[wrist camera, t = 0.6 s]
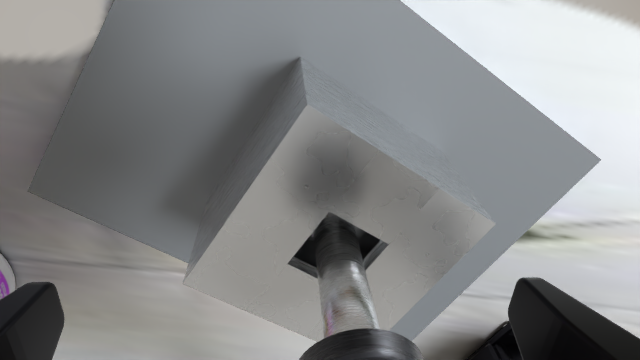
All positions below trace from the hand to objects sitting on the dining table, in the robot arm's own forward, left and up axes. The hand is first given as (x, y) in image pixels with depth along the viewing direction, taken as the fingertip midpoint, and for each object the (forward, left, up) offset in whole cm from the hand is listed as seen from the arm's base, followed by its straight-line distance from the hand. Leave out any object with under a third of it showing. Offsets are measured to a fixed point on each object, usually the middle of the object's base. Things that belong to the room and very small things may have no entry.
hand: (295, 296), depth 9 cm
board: (-3, +2, -13) cm, 14 cm away
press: (-3, +2, -12) cm, 13 cm away
